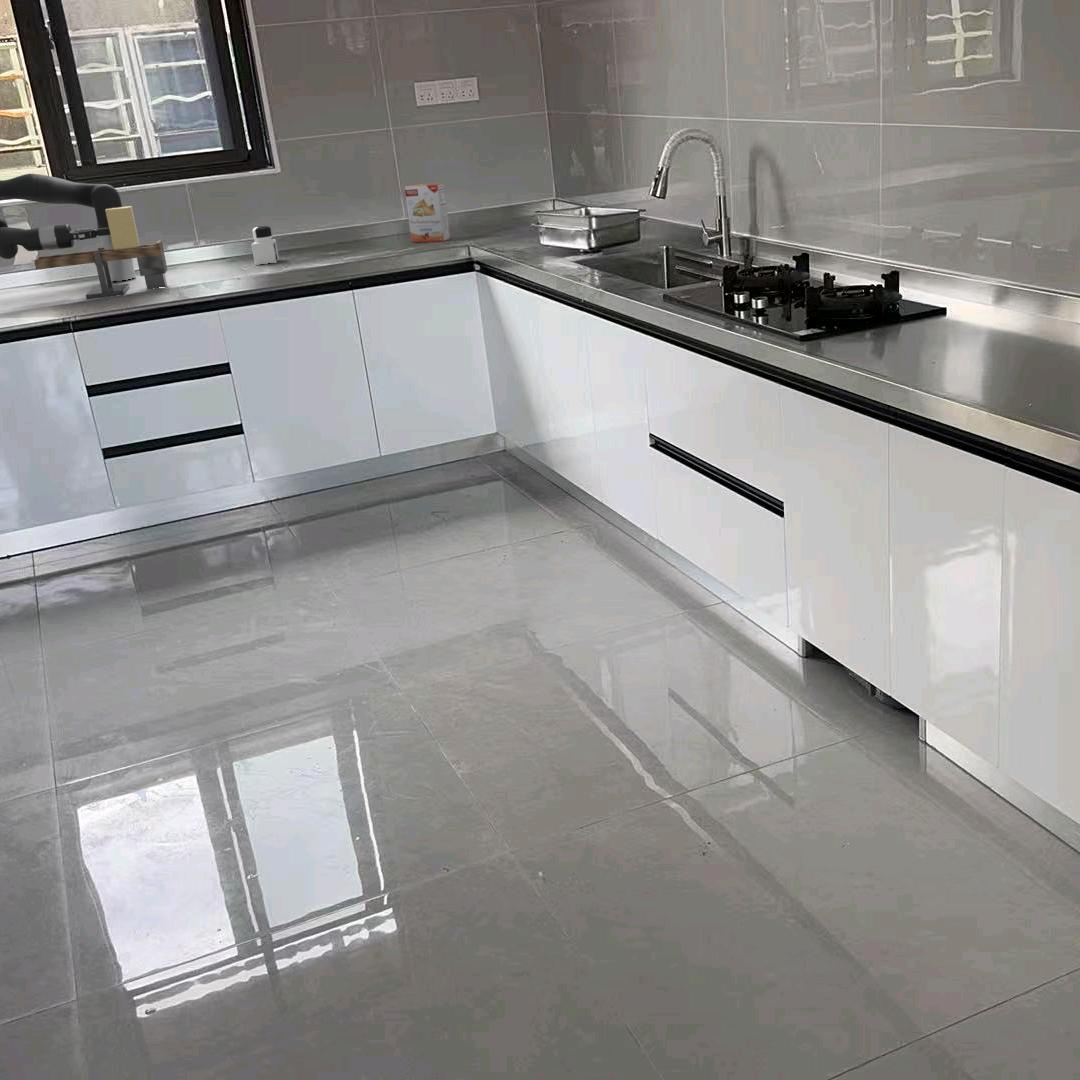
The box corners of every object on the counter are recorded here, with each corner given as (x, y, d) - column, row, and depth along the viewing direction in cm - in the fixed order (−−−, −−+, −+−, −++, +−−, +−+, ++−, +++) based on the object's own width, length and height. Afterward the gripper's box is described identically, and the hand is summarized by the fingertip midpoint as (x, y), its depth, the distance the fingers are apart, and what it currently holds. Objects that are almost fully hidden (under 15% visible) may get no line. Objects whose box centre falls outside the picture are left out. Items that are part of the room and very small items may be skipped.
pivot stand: (168, 283, 417) (159, 240, 412) (164, 290, 402) (155, 245, 397) (93, 292, 413) (83, 249, 408) (86, 299, 399) (76, 255, 393)
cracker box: (410, 243, 458) (403, 186, 451) (418, 240, 464) (411, 184, 456) (443, 241, 453) (436, 184, 445) (451, 239, 458) (444, 182, 450)
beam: (167, 269, 412) (161, 239, 409) (165, 273, 404) (159, 242, 400) (45, 283, 406) (38, 253, 402) (40, 287, 398) (33, 257, 394)
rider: (140, 248, 407) (131, 205, 402) (139, 250, 402) (130, 207, 397) (116, 251, 406) (107, 208, 400) (114, 253, 401) (105, 210, 396)
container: (279, 260, 447) (273, 224, 442) (275, 263, 440) (269, 226, 435) (258, 262, 447) (252, 226, 442) (254, 265, 440) (248, 229, 435)
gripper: (62, 246, 405) (115, 240, 408) (55, 251, 393) (110, 245, 395) (57, 223, 402) (110, 217, 405) (49, 227, 390) (105, 221, 393)
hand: (110, 231), depth 400 cm, fingers closed
